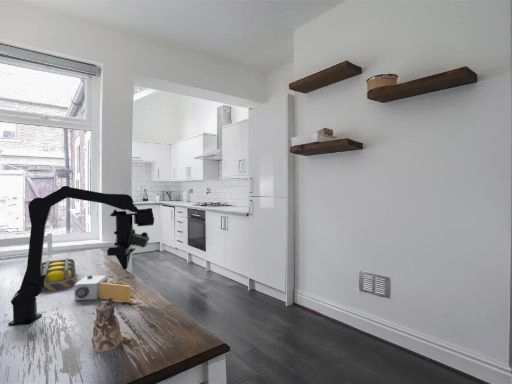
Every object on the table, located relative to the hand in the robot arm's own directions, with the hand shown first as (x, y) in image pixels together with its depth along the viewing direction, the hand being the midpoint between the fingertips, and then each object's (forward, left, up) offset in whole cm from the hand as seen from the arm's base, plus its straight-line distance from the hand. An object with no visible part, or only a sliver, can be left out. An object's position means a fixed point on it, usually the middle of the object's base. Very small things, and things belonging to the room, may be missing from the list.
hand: (125, 269), depth 111 cm
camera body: (+8, +16, -12) cm, 21 cm away
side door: (+1, +5, -12) cm, 13 cm away
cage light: (+29, +39, -12) cm, 51 cm away
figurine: (-32, -5, -12) cm, 34 cm away
